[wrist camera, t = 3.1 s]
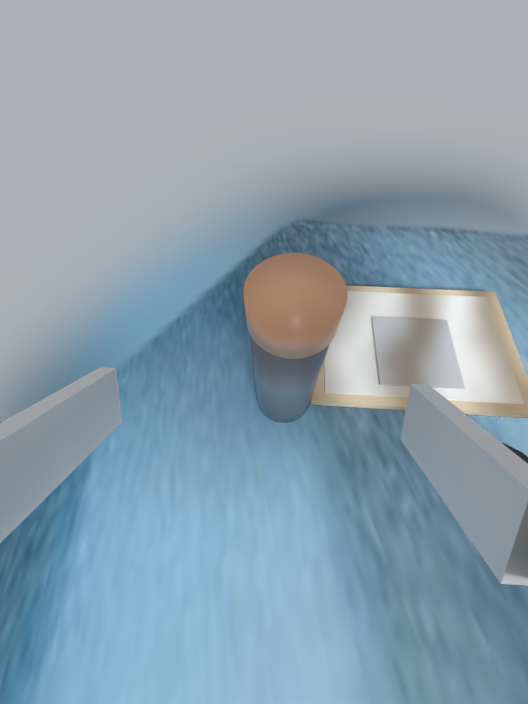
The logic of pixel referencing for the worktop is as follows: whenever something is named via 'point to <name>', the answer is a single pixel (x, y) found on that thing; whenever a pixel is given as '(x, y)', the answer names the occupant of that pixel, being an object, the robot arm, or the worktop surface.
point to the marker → (291, 328)
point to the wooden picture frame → (423, 352)
